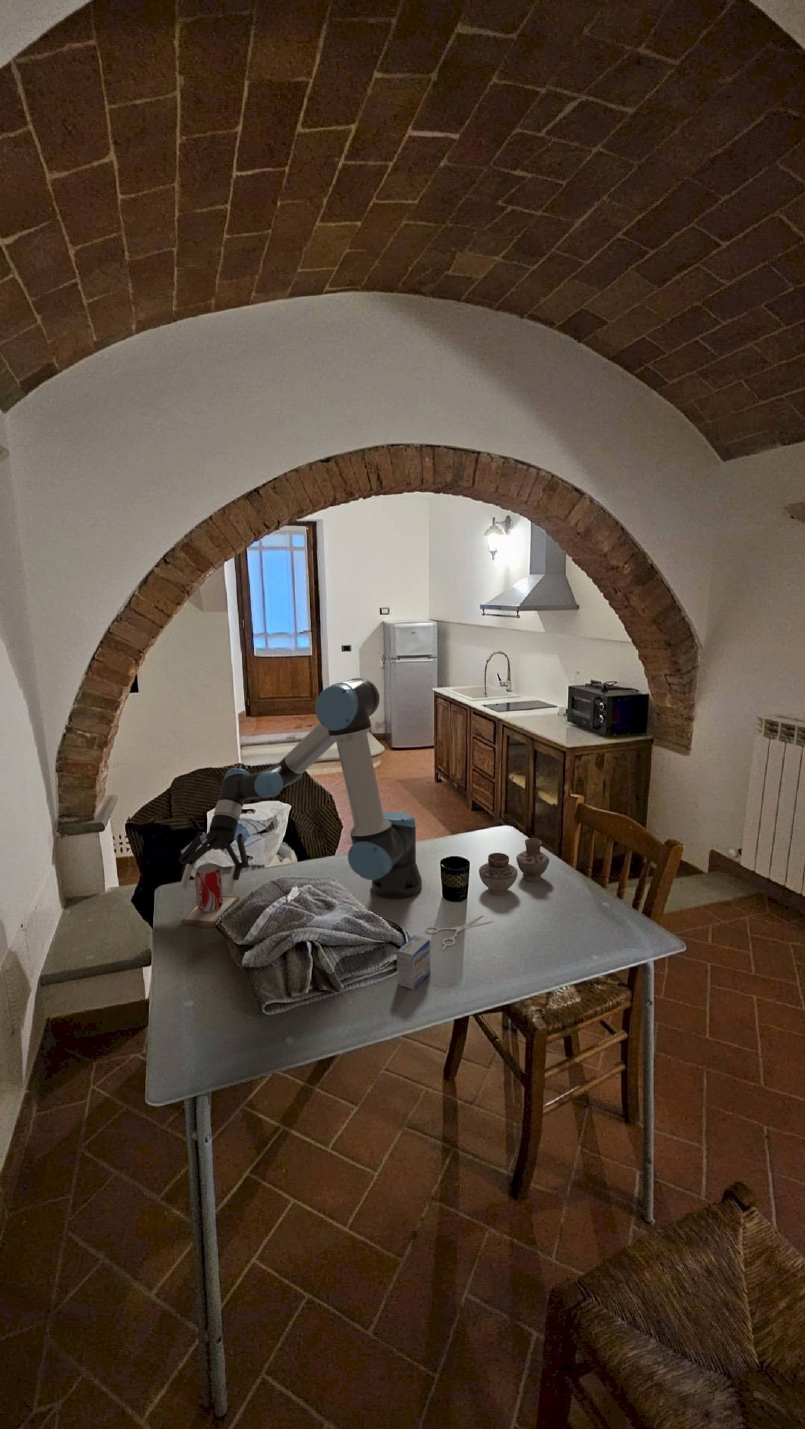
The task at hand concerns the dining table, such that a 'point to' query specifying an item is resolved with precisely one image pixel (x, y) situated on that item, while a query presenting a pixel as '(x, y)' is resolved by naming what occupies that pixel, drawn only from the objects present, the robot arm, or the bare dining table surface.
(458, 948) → the dining table surface
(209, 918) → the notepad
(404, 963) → the medicine box
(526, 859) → the pottery
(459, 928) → the scissors
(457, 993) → the dining table surface
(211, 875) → the soda can
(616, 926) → the dining table surface
